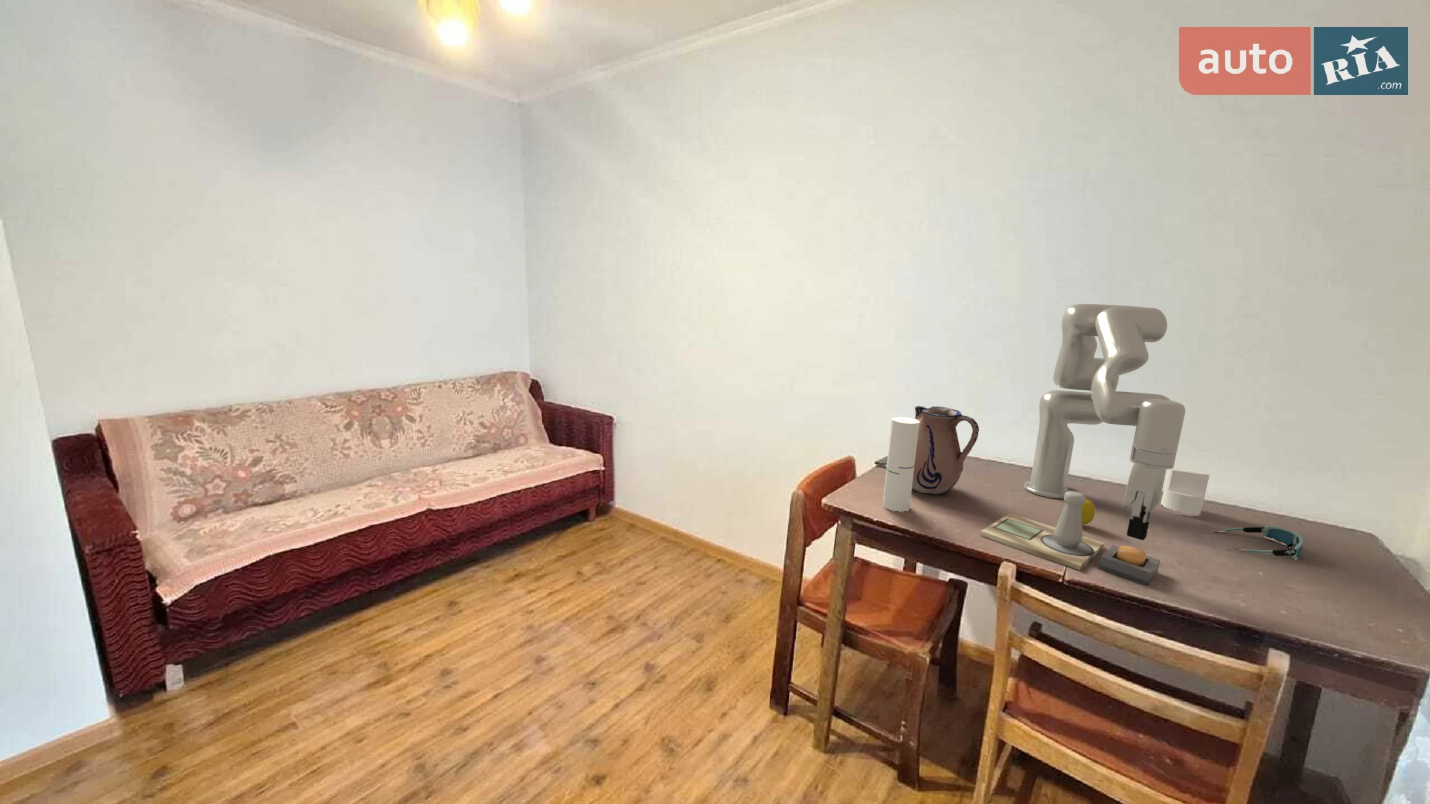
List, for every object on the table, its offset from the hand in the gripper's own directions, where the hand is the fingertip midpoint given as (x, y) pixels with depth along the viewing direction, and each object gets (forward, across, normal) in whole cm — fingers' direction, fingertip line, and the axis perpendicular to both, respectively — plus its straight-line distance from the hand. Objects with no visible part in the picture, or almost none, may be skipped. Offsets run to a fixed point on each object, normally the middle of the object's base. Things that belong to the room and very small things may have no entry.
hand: (1136, 537), depth 124 cm
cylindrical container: (+8, +10, -52) cm, 54 cm away
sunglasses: (+9, -43, +18) cm, 48 cm away
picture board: (+8, 0, -18) cm, 20 cm away
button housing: (+8, 0, 0) cm, 8 cm away
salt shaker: (+7, -1, -13) cm, 15 cm away
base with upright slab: (+8, -56, 0) cm, 57 cm away
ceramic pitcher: (+8, -11, -52) cm, 54 cm away
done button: (+6, 0, 0) cm, 6 cm away
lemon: (+8, -19, -15) cm, 26 cm away
